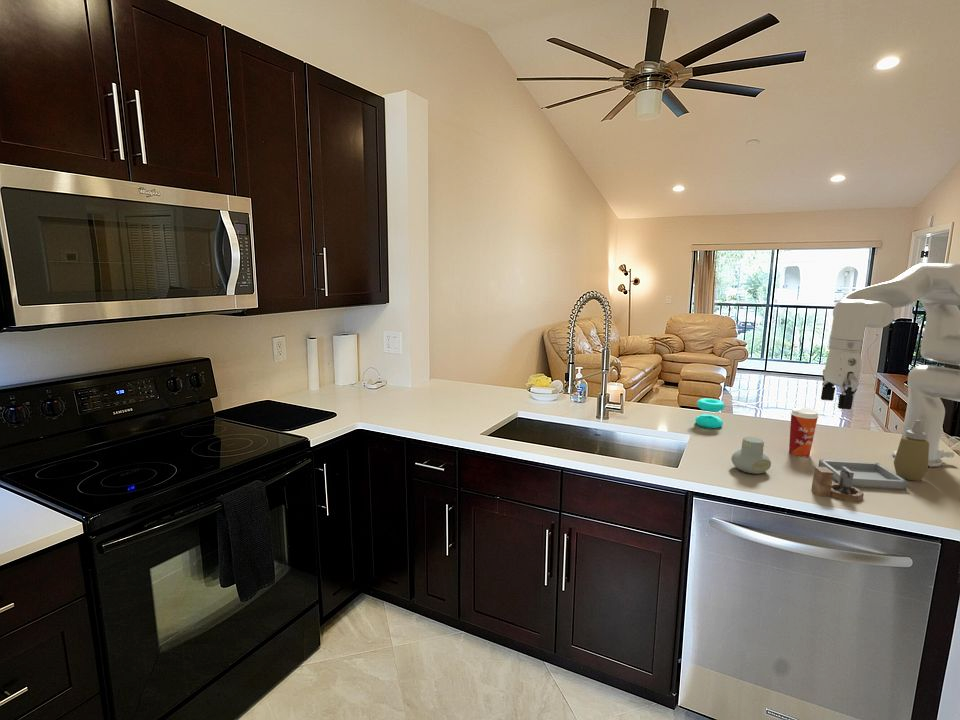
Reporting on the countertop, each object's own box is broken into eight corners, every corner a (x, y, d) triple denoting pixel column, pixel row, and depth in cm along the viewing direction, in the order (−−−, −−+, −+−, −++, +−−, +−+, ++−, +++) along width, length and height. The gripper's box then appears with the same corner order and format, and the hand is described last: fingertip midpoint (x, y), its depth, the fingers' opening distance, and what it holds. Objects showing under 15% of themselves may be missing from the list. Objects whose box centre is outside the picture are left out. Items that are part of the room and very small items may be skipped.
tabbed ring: (851, 489, 149) (855, 466, 147) (868, 502, 141) (871, 477, 140) (808, 486, 150) (811, 463, 149) (822, 499, 142) (825, 475, 141)
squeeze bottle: (910, 471, 161) (920, 416, 158) (933, 482, 153) (944, 424, 150) (884, 472, 161) (894, 416, 158) (906, 483, 153) (917, 424, 150)
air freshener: (745, 477, 156) (749, 446, 154) (725, 466, 164) (728, 436, 162) (774, 473, 159) (778, 442, 157) (753, 463, 167) (757, 433, 165)
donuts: (701, 396, 210) (727, 400, 204) (698, 419, 212) (725, 424, 206) (694, 401, 203) (721, 405, 197) (692, 425, 204) (719, 430, 199)
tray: (877, 470, 162) (878, 463, 162) (906, 490, 148) (907, 481, 148) (818, 467, 164) (819, 459, 164) (841, 485, 151) (843, 477, 150)
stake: (845, 491, 147) (849, 466, 146) (853, 498, 143) (857, 473, 142) (833, 490, 148) (837, 466, 146) (842, 497, 143) (845, 472, 142)
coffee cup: (799, 458, 171) (805, 415, 168) (779, 450, 179) (784, 408, 176) (819, 456, 173) (826, 413, 170) (799, 447, 181) (804, 406, 178)
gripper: (878, 351, 136) (866, 413, 140) (843, 341, 153) (834, 398, 156) (846, 349, 138) (836, 411, 141) (816, 340, 154) (807, 396, 157)
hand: (835, 404), depth 148 cm, fingers open, 9 cm apart
